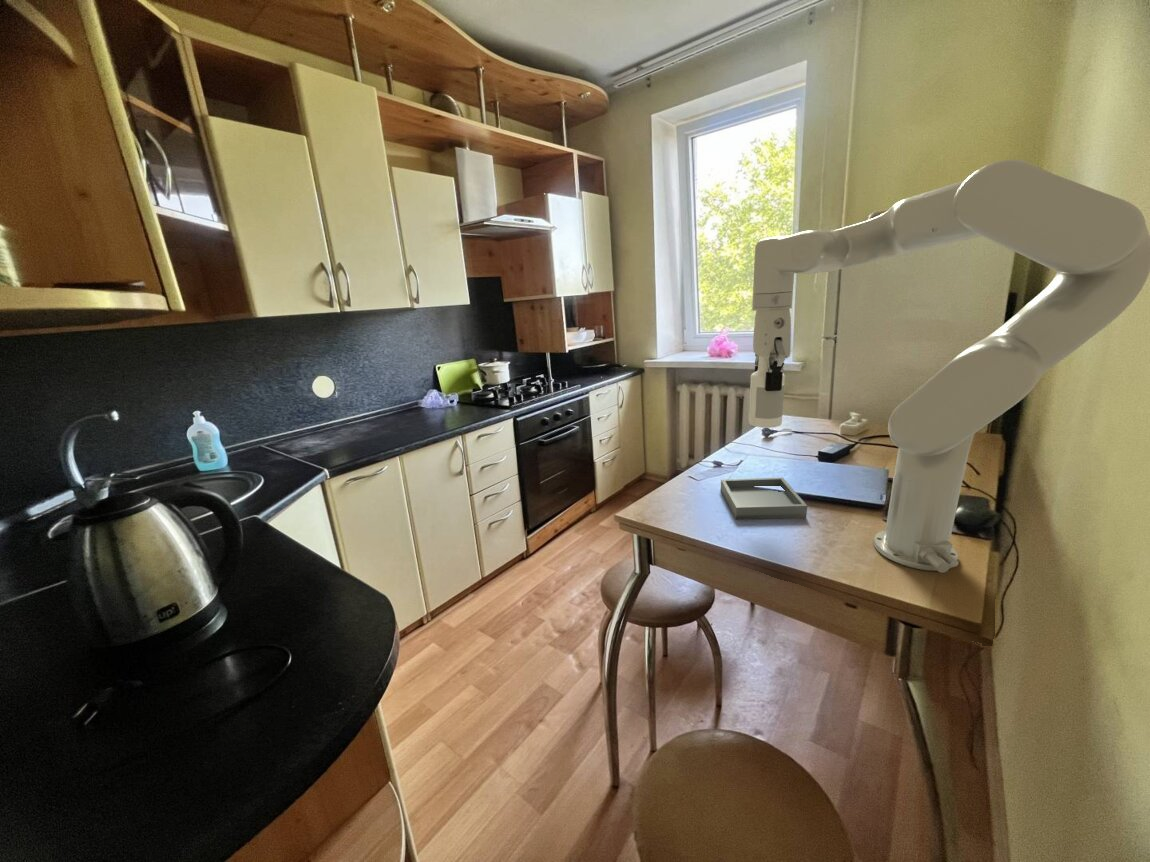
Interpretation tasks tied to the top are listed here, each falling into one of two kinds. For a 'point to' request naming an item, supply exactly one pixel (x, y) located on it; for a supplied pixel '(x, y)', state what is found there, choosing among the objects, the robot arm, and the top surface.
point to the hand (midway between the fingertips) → (767, 386)
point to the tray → (762, 499)
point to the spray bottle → (765, 399)
